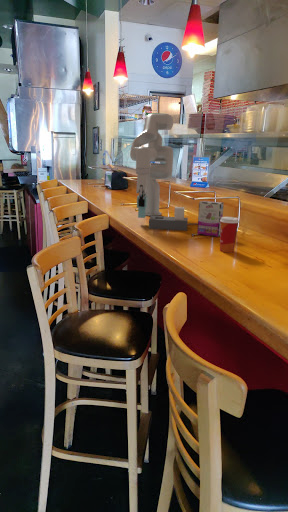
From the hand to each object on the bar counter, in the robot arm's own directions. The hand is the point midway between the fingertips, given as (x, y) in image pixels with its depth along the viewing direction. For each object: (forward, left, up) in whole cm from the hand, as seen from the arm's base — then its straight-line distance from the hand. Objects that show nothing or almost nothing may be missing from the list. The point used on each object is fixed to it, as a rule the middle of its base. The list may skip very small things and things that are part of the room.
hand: (142, 205), depth 200 cm
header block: (+5, +15, -11) cm, 19 cm away
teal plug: (0, 0, -6) cm, 6 cm away
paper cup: (+46, +42, -11) cm, 63 cm away
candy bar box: (+17, +36, -11) cm, 41 cm away
